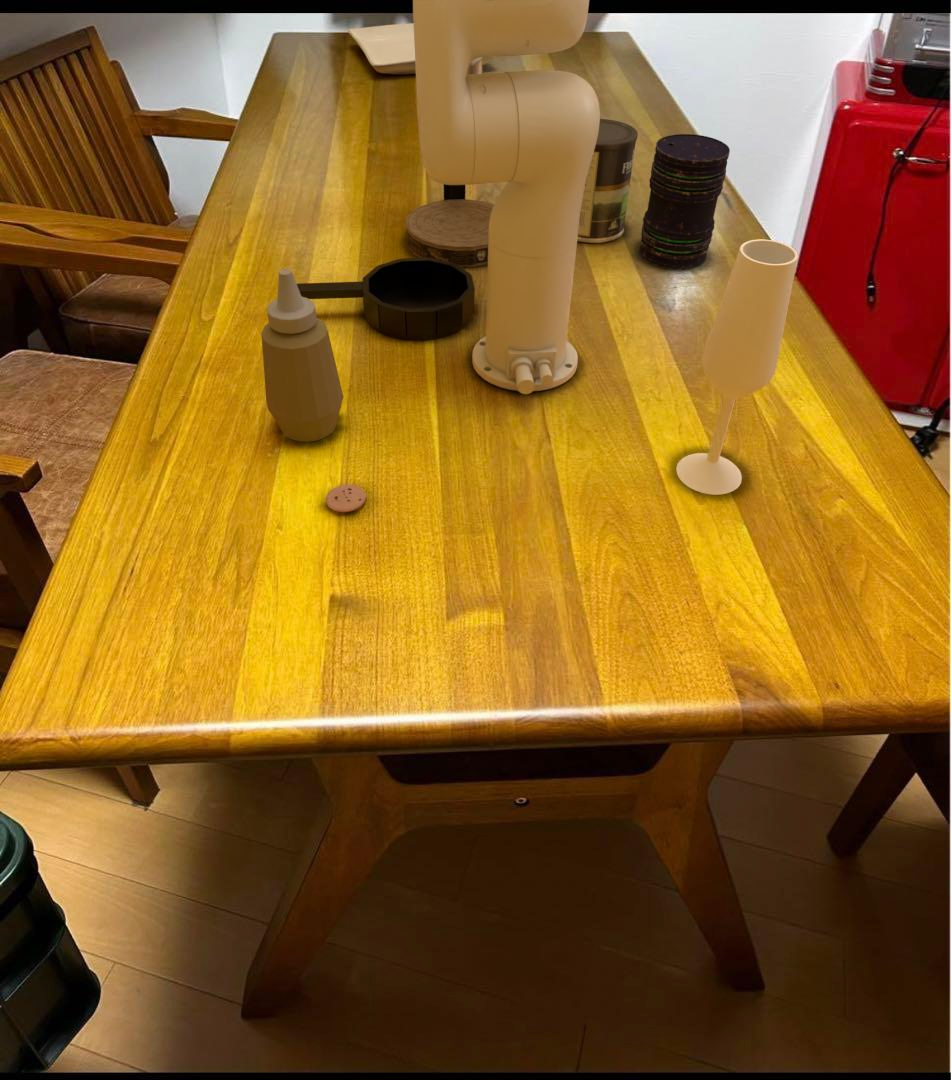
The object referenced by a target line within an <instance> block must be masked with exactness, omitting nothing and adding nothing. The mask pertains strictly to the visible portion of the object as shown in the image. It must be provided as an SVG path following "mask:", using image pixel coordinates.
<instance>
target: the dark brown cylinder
mask: <svg viewBox="0 0 951 1080" xmlns="http://www.w3.org/2000/svg"><path fill="white" fill-rule="evenodd" d="M654 149H655V153H654V156H653V161H652V163H651V169H650V178H649V186H648V187H649V189H650V191H649V197H648V202H647V203H648V204H647V209H646V210H645V212H644V215H643V218H642V225H641V232H640V236H641V237H640V243H641V244H640V245H639V248H638V249H639V250H638V253H639V257H641V259H643V261H645V262H646V263H648V264H650V265H652V266H653V267H658V268H659V269H665V270H670V271H671V270H673V271H685V270H687V271H688V270H693V269H696V268H699V267H700V266H702V265H703V264H705V262H706V260H707V257H708V251H709V247H710V244H711V243H712V238H713V231H714V230H715V218H714V217H715V213H716V208H717V204H718V199H719V197H720V195H721V194H722V190H723V189H724V181H725V179H726V175H727V174H726V173H727V165H728V159H729V156H730V153H731V149H730V147H729V146H728V144H726V143H725V142H723V141H721V140H719V139H718V138H714V137H710V136H706V135H702V134H694V133H679V134H678V133H677V134H676V133H675V134H670V135H666V136H663V137H661V138H659V139H658V140H657V141H656V144H655V148H654Z"/></svg>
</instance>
